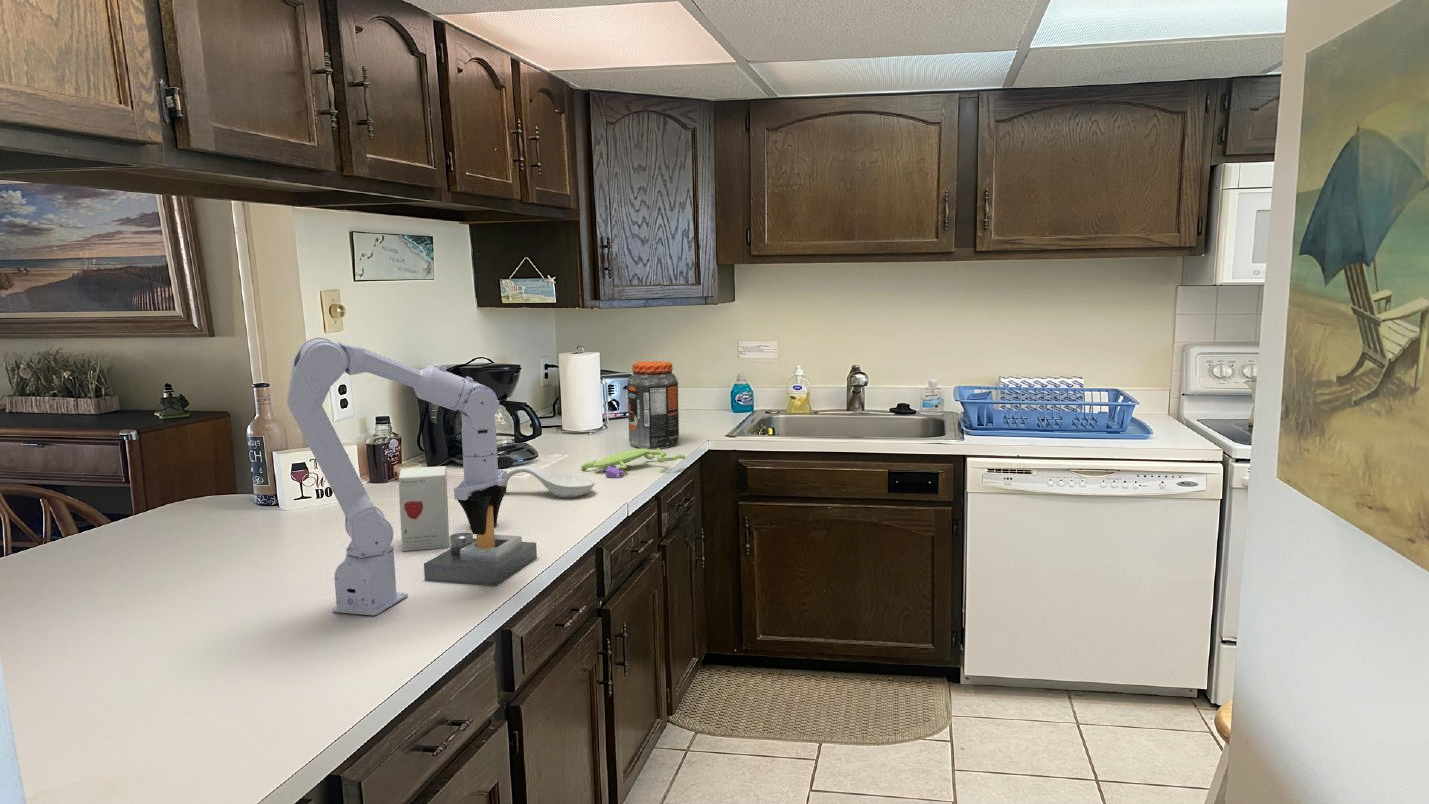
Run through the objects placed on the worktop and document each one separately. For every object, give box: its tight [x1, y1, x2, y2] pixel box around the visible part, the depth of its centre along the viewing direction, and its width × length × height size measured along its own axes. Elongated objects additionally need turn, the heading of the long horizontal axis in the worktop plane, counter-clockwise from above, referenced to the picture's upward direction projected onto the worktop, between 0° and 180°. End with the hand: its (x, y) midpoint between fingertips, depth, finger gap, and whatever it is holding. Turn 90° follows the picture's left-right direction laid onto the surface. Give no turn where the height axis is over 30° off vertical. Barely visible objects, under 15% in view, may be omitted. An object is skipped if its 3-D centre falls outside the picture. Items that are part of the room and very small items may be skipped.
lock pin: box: [475, 505, 495, 549], centre depth 157 cm, size 3×3×7 cm
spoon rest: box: [498, 465, 596, 499], centre depth 223 cm, size 24×12×7 cm, turn 86°
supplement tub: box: [627, 361, 680, 450], centre depth 285 cm, size 16×16×26 cm
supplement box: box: [398, 465, 450, 552], centre depth 182 cm, size 9×9×15 cm
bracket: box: [460, 534, 523, 563], centre depth 166 cm, size 10×7×2 cm
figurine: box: [580, 448, 686, 479], centre depth 250 cm, size 18×27×6 cm
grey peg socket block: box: [423, 532, 538, 587], centre depth 167 cm, size 16×14×6 cm
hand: (484, 531), depth 158 cm, fingers closed on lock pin, 3 cm apart
